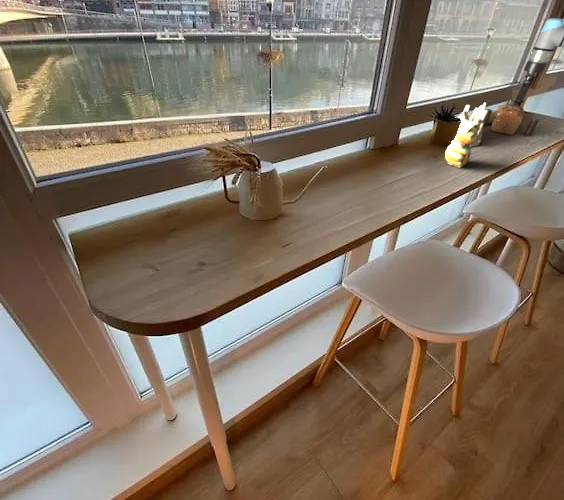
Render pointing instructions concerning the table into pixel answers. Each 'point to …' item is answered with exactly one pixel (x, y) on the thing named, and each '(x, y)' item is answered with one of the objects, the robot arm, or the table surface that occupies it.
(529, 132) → the dark brown pieces
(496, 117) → the bread
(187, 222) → the table surface
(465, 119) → the white pronged sculpture
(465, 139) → the decorative figurine
